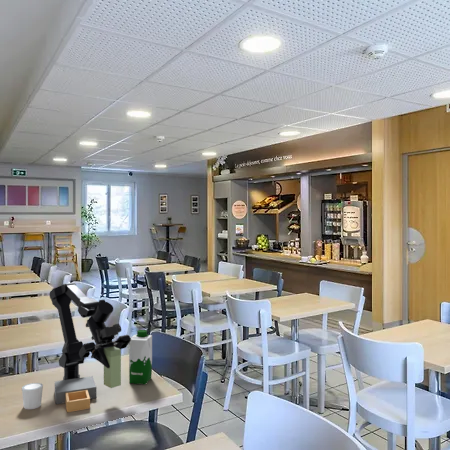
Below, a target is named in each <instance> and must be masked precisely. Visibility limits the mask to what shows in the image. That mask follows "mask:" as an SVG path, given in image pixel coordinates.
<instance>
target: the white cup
mask: <svg viewBox="0 0 450 450" xmlns="http://www.w3.org/2000/svg"><path fill="white" fill-rule="evenodd" d="M43 388H44V384H43V383H42V382H32V383H27V384H25V385H22V387H21V392H22V393H21V394H22V402H23V408H24V409H25V410H34V409H38V408H40V407H41V406H42V400H43V399H42V398H43Z"/></svg>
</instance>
